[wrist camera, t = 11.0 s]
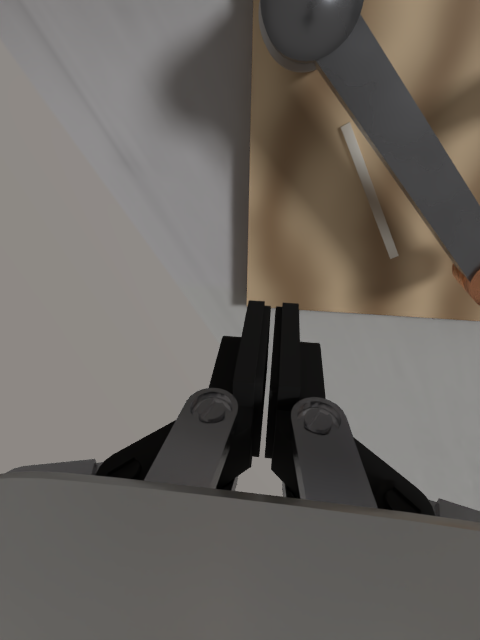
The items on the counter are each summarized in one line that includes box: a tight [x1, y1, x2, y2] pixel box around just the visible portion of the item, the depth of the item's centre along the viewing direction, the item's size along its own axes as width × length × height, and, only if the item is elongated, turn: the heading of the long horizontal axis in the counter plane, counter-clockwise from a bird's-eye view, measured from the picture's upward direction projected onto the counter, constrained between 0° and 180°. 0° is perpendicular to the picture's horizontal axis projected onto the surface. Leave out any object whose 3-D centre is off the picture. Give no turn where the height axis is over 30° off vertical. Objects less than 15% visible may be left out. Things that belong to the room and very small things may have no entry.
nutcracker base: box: [247, 0, 480, 321], centre depth 22 cm, size 21×23×8 cm
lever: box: [260, 0, 480, 306], centre depth 20 cm, size 22×4×3 cm, turn 43°
